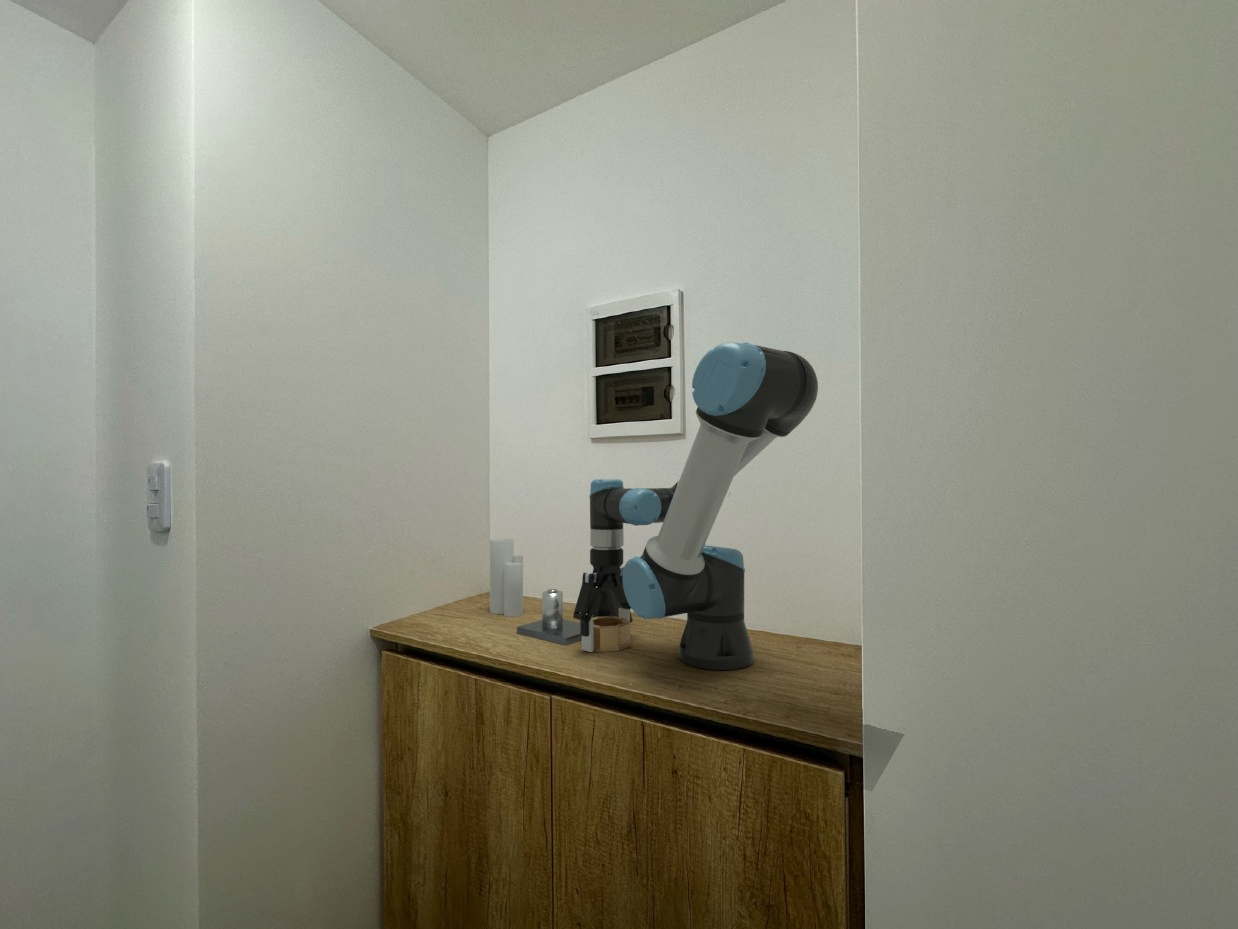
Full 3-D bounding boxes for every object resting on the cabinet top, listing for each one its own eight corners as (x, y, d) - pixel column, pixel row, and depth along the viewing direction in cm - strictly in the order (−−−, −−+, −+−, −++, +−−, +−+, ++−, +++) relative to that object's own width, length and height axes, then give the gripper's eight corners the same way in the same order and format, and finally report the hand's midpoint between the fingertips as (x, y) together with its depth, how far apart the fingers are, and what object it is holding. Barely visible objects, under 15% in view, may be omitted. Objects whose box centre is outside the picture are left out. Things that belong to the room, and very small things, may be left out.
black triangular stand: (591, 620, 146) (591, 574, 146) (606, 616, 151) (606, 571, 151) (617, 626, 140) (617, 578, 140) (632, 621, 145) (632, 575, 145)
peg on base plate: (599, 633, 134) (599, 591, 134) (565, 645, 124) (565, 599, 124) (552, 623, 143) (552, 583, 144) (517, 633, 134) (517, 591, 134)
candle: (484, 612, 155) (484, 540, 156) (503, 607, 161) (503, 538, 162) (513, 617, 149) (514, 542, 150) (532, 612, 155) (532, 540, 156)
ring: (638, 643, 125) (638, 620, 126) (610, 654, 118) (610, 630, 118) (603, 635, 132) (603, 614, 132) (575, 645, 124) (575, 623, 124)
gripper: (626, 541, 137) (626, 629, 137) (556, 551, 118) (556, 653, 117) (651, 543, 133) (651, 634, 132) (583, 554, 113) (583, 661, 113)
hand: (606, 643), depth 125 cm, fingers open, 12 cm apart
